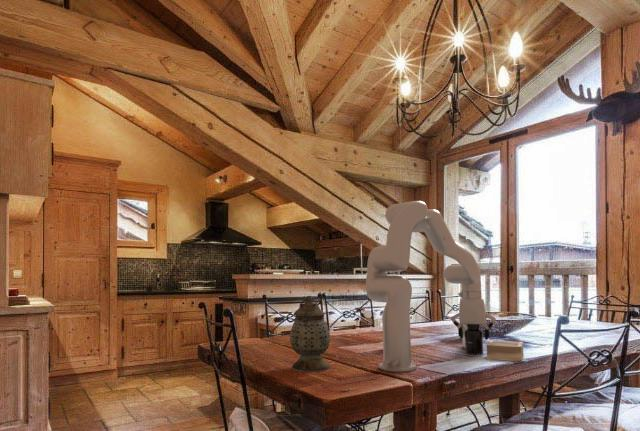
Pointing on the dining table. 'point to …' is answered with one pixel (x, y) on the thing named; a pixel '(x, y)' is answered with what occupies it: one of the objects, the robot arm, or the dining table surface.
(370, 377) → the dining table surface
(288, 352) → the dining table surface
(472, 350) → the supplement bottle
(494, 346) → the plinth
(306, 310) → the lantern
